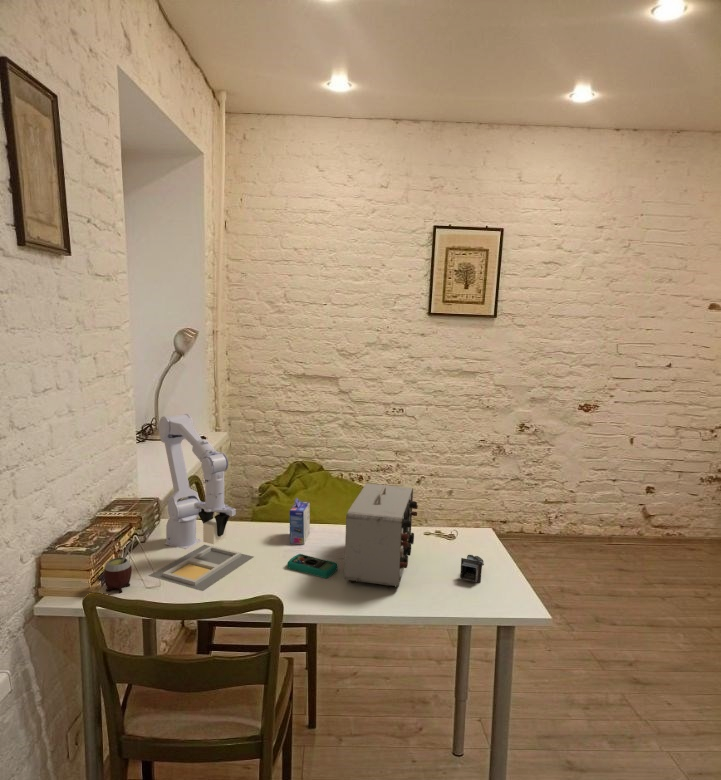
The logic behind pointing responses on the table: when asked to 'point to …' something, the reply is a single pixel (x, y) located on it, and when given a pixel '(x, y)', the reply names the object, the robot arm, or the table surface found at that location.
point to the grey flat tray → (202, 567)
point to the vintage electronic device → (379, 534)
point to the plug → (212, 532)
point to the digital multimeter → (312, 565)
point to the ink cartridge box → (299, 522)
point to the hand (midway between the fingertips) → (214, 533)
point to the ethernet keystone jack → (471, 568)
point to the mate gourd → (118, 572)
